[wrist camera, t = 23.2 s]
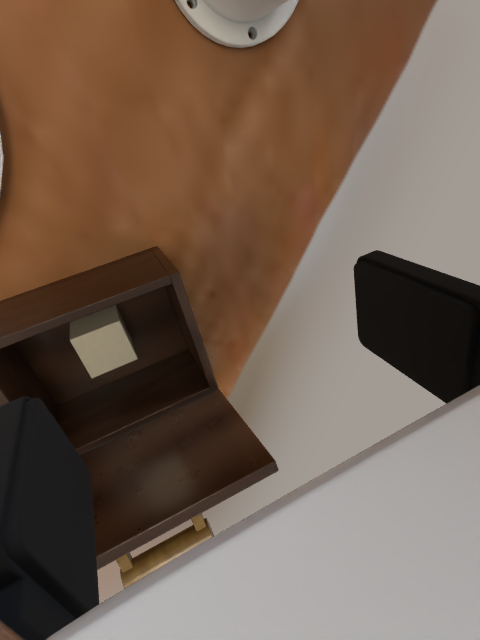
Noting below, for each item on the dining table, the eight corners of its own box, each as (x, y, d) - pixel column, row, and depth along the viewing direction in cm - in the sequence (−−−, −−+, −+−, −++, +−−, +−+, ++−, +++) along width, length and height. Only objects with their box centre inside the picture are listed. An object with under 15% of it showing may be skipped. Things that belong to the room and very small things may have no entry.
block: (69, 319, 35) (69, 340, 32) (114, 302, 36) (119, 320, 33) (89, 355, 38) (91, 378, 34) (131, 338, 39) (137, 359, 35)
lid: (-10, 613, 18) (37, 683, 20) (275, 460, 22) (299, 526, 23) (46, 470, 32) (72, 517, 33) (219, 389, 35) (236, 433, 37)
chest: (-18, 306, 33) (-43, 354, 25) (157, 245, 36) (178, 271, 29) (53, 409, 39) (48, 469, 32) (194, 348, 43) (219, 390, 36)
